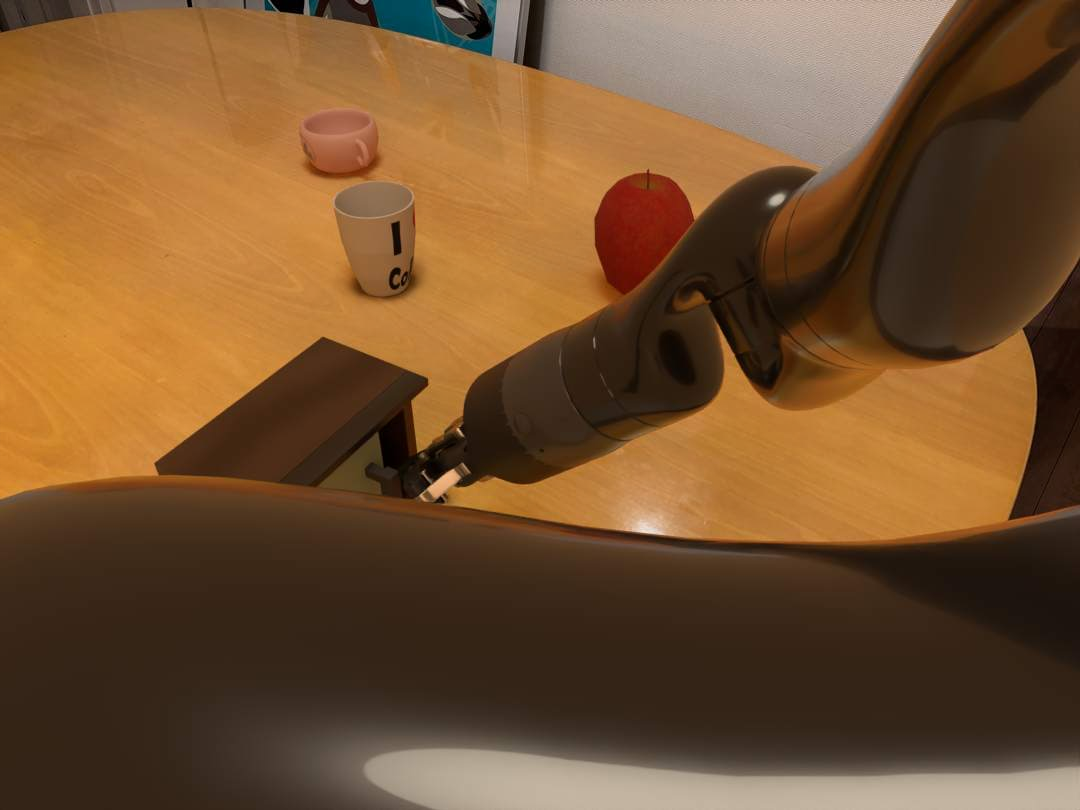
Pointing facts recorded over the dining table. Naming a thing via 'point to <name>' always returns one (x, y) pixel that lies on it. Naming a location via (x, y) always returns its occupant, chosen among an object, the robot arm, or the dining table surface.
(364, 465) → the door
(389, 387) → the cabinet
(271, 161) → the dining table surface
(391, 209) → the cup
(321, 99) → the dining table surface
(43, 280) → the dining table surface
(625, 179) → the apple
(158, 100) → the dining table surface
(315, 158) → the mug
